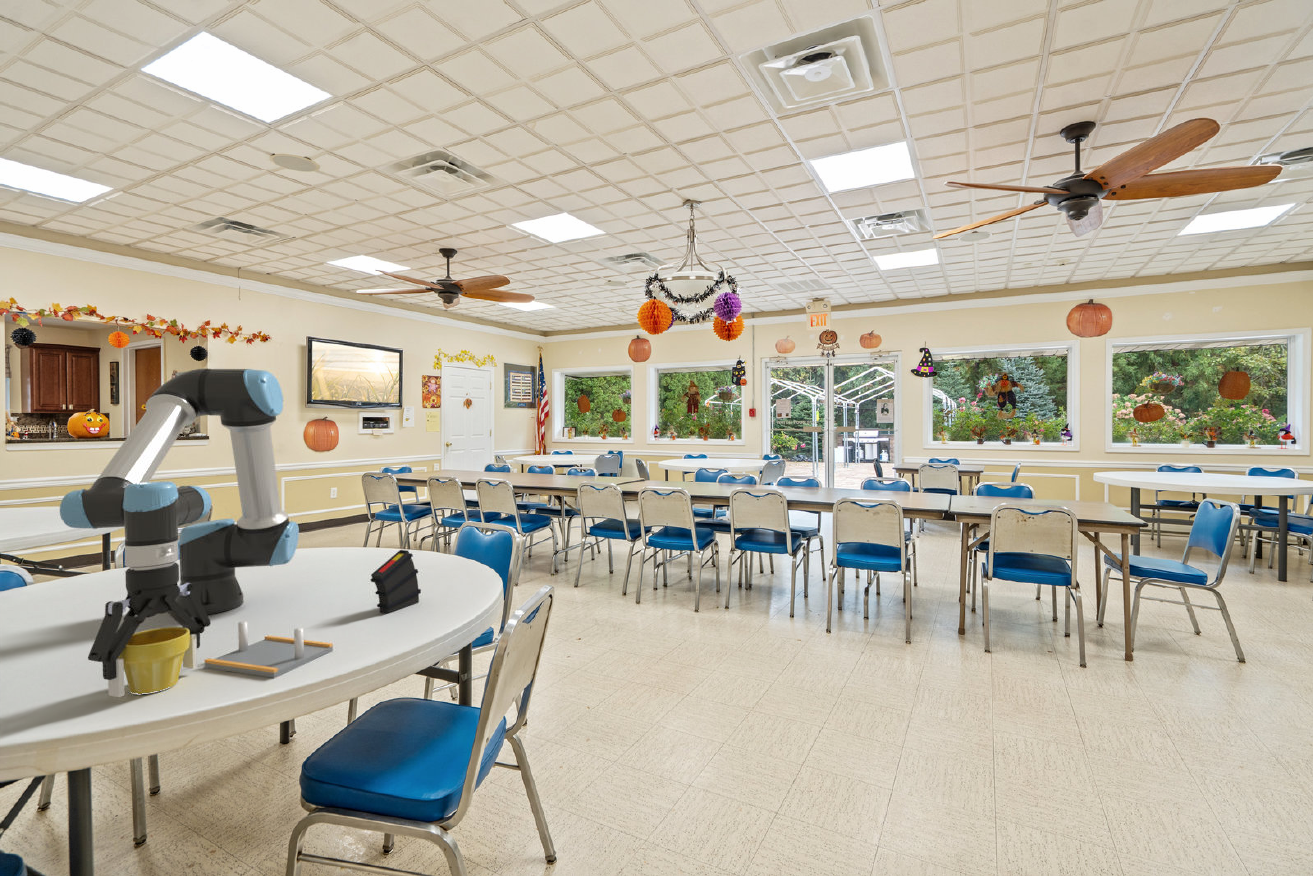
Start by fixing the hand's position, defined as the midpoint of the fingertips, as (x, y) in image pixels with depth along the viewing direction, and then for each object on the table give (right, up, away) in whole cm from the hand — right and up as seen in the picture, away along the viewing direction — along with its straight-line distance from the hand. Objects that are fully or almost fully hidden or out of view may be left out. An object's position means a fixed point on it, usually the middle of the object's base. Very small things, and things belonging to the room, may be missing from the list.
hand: (155, 680), depth 108 cm
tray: (+13, -1, +13) cm, 18 cm away
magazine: (+24, 0, +46) cm, 52 cm away
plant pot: (0, -1, 0) cm, 1 cm away
